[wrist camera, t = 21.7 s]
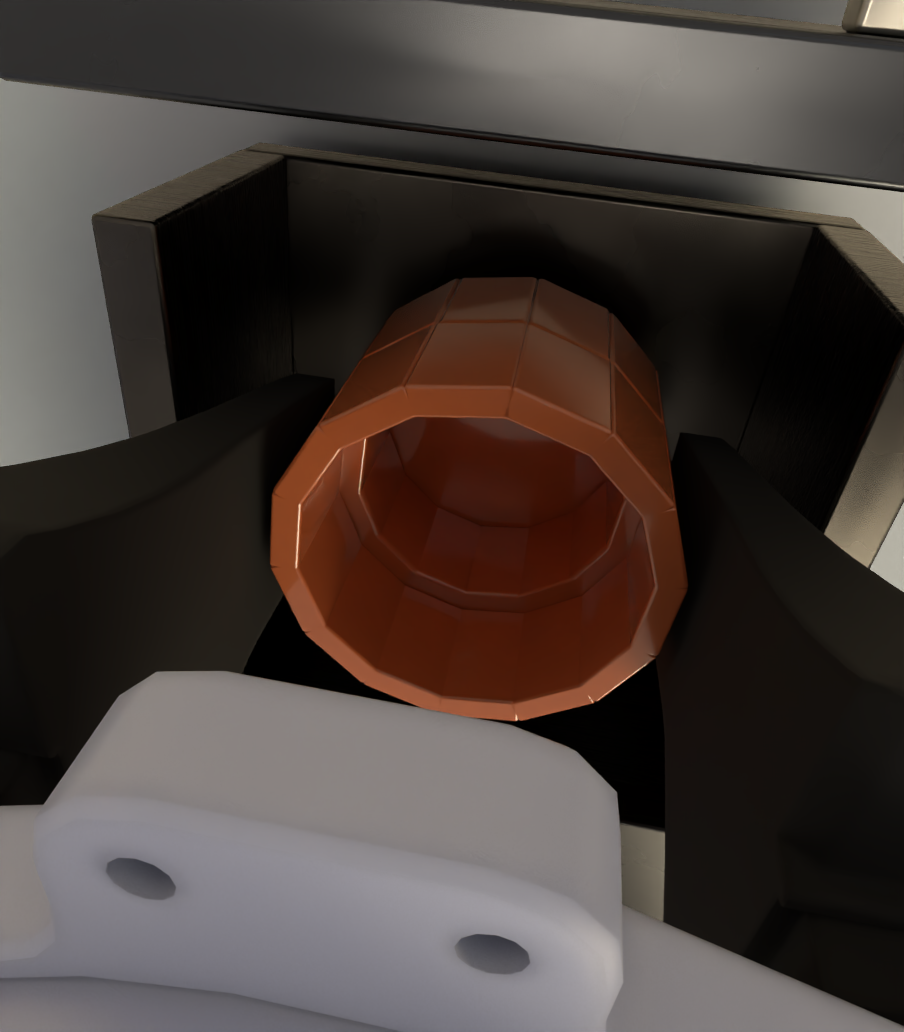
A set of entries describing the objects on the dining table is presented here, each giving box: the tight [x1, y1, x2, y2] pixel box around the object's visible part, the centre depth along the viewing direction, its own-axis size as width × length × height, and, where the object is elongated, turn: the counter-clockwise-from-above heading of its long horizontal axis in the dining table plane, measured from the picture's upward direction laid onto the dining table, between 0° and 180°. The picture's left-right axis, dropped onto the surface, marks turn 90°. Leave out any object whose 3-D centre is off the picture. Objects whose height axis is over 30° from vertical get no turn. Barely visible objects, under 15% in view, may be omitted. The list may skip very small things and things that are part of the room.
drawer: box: [0, 0, 904, 789], centre depth 11 cm, size 19×11×6 cm, turn 175°
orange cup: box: [270, 277, 689, 721], centre depth 11 cm, size 5×5×4 cm
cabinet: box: [602, 777, 665, 922], centre depth 19 cm, size 14×13×8 cm
